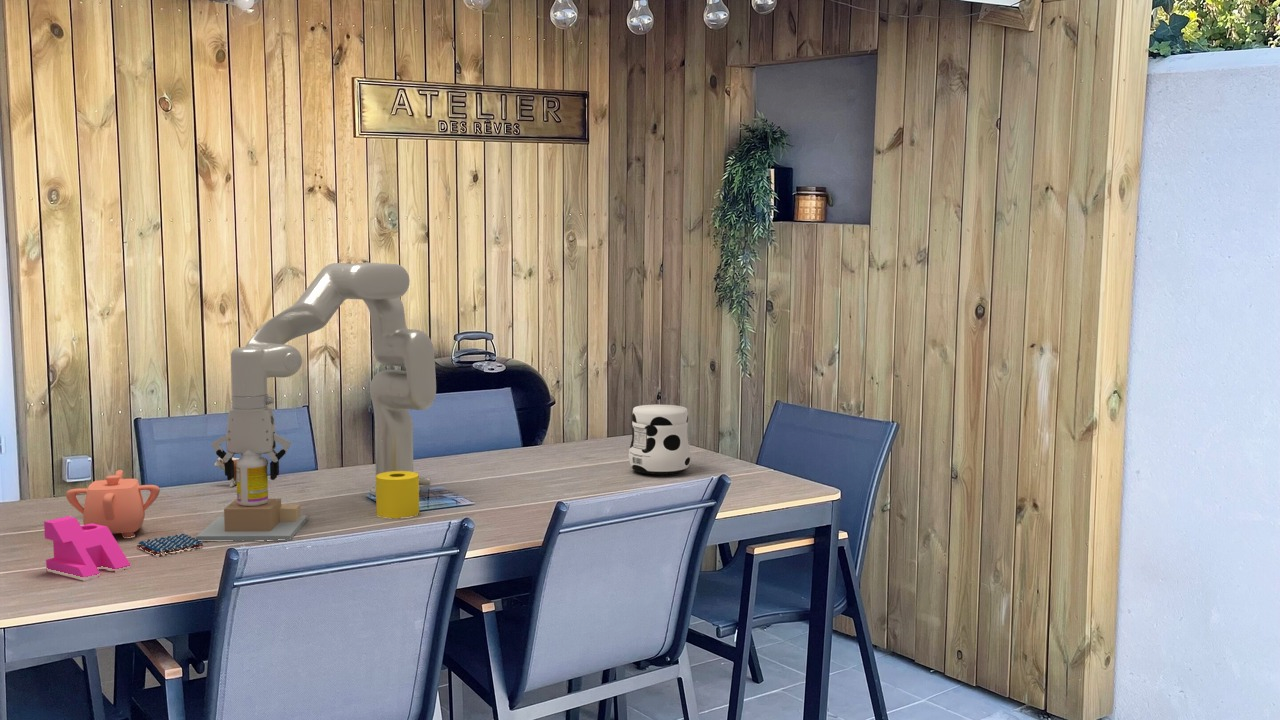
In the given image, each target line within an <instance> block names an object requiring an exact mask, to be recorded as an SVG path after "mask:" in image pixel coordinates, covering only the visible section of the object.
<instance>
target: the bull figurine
mask: <svg viewBox="0 0 1280 720" xmlns="http://www.w3.org/2000/svg"><path fill="white" fill-rule="evenodd" d="M262 457H263V456H262ZM240 458H241V457H239V458H238V457H234V456H233V457H232V460H233V461H234V478H232V479H231V480H230V481H231V482H230V485H228V488H233V487H235V486H237V479H236V462H237V460H238V459H240ZM263 458H265V459H266V461H267V467H268V466H269V461H268V458H266V457H265V456H264V457H263ZM213 465H214V467H219V468H220V469H221V470H223V472H224V473H225V462H223V460H222V459H221V458H220V457H218V458H217V459H216V461H215V463H214V464H213Z"/></svg>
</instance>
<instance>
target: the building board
mask: <svg viewBox="0 0 1280 720" xmlns="http://www.w3.org/2000/svg"><path fill="white" fill-rule="evenodd" d="M308 521H309V520H308V515H302V514H301V504H300V503H299V504H298V503H297V504H296V503H295V504H294V503H293V504H292V503H291V504H290V503H289V504H285V503H284V504H283V503H282V498H268V502H267V503H265V504H263V505H259V506H242V505H239V504H238V502H237V498H236V499H234V500H233V501H232V502H231V503H230V504H228V505H227V506H226V507H225V508H223V515H219V516H218V517H217V518H216V519H215V520H213V521H212V522H211V523H210V524H209V525H207V527H205V528H204V529H203V530H201V532H199V533H198V534H197V535H196V536H195V539H198V540H233V541H232V542H256V541H255V540H264V541H263V542H268V541H267V540H278V539H285V540H279V541H278V542H289V541H288V540H290V541H291V540H292V539H293V538H294V537H295V536H296V535H297V533H298V532H299V531H300V530H301V529H302V528H303V527H304V525H305V524H306V523H307V522H308ZM301 527H302V528H301ZM300 528H301V529H300ZM295 534H296V535H295ZM294 535H295V536H294ZM293 536H294V537H293ZM290 538H292V539H290ZM242 540H244V541H242Z"/></svg>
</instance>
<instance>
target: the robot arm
mask: <svg viewBox="0 0 1280 720" xmlns="http://www.w3.org/2000/svg"><path fill="white" fill-rule="evenodd" d="M410 282H411V281H410V275H409V273H408V271H407V270H406V268H405V267H403V266H402V265H400V264H397V263H382V262H356V263H352V262H351V263H348V262H346V263H345V262H334V263H330V264H327V265H325V266H323V268H322V269H321V270H320V271H319V272H318V274H317V275H316V276H315V278H314V279H313V280H312V282H311V283H310V284H309V285H308V286H307V288H306V289H305V291H304V292H303V293H302V295H300V297H299V298H298V300H297V301H296V302H295V303H294V304H293V305H292V306H290V307H288V308H286V309H285V310H283V311H281V312H279V313H278V314H276V315H275V316H273V317H271V318H270V319H268V320H267V321H266V322H264V324H262V325H261V326H260V327H259V328H258V329H257V330H256V332H255V333H254V334H253V335H252V337H250V339H249V341H248V342H246V345H245V346H244V347H243V346H242V347H241V346H240V347H236V348H234V349H232V351H231V352H230V372H231V399H232V401H231V403H232V404H231V405H232V407H231V408H230V409H229V411H228V416H227V425H226V426H227V427H226V434H224V435H223V436H220V437H219V438H217V439H216V440H214V441H213V442H211V447H212V449H213V450H214V451H215V454H216V456H218V458H221V459H222V460H223V462H225V472H224V476H227V477H226V479H227V481H232V480H231V479H232V478H234V461H233V460H232V457H233V458H234V456H235V455H241V454H243V453H245V452H246V451H247V450H249V451H251V452H252V453H256V454H261V455H263V454H266V455H267V457H269V459H270V460H271V462H270V463H269V475H270V476H269V477H270V480H271V481H274V480H276V479H277V477H278V476H279V475H280V463H279V462H280V460H281V459H282V458H283V456H285V455H286V454H287V452H288V450H289V449H290V447H291V445H292V442H291V440H289V439H287V438H285V437H283V436H281V435H279V434H277V432H276V423H275V422H276V421H275V416H274V413H273V411H274V410H273V408H272V407H269V405H271V404H275V398H274V397H271V396H269V393H268V378H281V379H282V378H284V379H285V378H288V377H289V378H290V377H292V376H294V375H295V374H297V373H298V372H299V370H300V369H301V367H302V363H303V358H302V355H301V352H300V351H299V350H298V349H297V348H296V347H294V346H292V345H290V344H286V343H288V342H289V341H292V340H294V339H295V338H299V337H302V336H305V335H309V334H311V333H314V332H317V331H319V330H321V329H323V328H325V326H326V325H328V323H329V321H330V320H331V319H332V317H333V316H334V314H336V312H337V311H338V309H339V308H340V306H342V304H343V303H344V302H345V301H346V300H348V299H349V300H362V301H363V302H364V303H365V305H366V307H367V309H368V312H369V315H370V317H369V318H370V325H371V338H372V339H371V340H372V351H373V355H374V359H375V360H376V361H377V362H378V363H380V364H381V365H386V366H393V367H401V368H403V367H404V368H405V370H402V369H401V370H399V369H385V370H381V371H378V372H377V373H376V374H375V375H374V376H373V377H372V379H371V382H370V385H369V393H370V394H369V395H370V399H371V403H372V409H373V414H374V415H373V417H374V449H375V451H374V453H375V454H374V455H375V456H374V457H375V476H376V475H377V474H380V473H383V472H390V471H411V472H414V433H413V432H414V425H413V419H412V416H411V414H410V412H409V410H411V411H412V410H413V411H423V410H427V409H429V408H430V407H431V406H432V405H433V403H434V401H435V399H436V396H437V395H436V394H437V379H436V377H437V375H436V360H435V350H434V346H433V342H432V339H431V338H430V337H429V335H428V334H427V333H425V332H424V331H422V330H419V329H410V328H409V329H408V328H407V325H406V324H407V323H406V315H405V309H404V308H405V307H404V304H403V302H402V299H401V297H402V296H404V295H405V294H406V293H407V291H408V290H409V286H410ZM224 443H226V451H227V452H226V451H225V450H224V449H223V448H222V447H221V445H222V444H224ZM277 444H280V445H281V448H280V451H277V450H276V449H277ZM420 486H424V487H430V486H432V479H431V478H428V477H419V492H420V491H421V489H420ZM369 493H370V495H372V496H375V495H376V484H375V485H373V486H371V487H369Z"/></svg>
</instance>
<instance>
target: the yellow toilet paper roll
mask: <svg viewBox="0 0 1280 720" xmlns="http://www.w3.org/2000/svg"><path fill="white" fill-rule="evenodd" d="M419 478H420V475H419V473H418V472H415V471H413V472H411V471H390V472H383V473H380V474H377V475H376V474H375V485H376V496H375V500H376V516H377V515H378V516H380V517H387V518H401V517H410V516H415V515H417V514H418V513H419V514H420V491H419V487H420V485H419ZM378 516H377V517H378ZM417 516H418V515H417ZM380 517H379V518H380ZM415 517H416V516H415Z"/></svg>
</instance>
